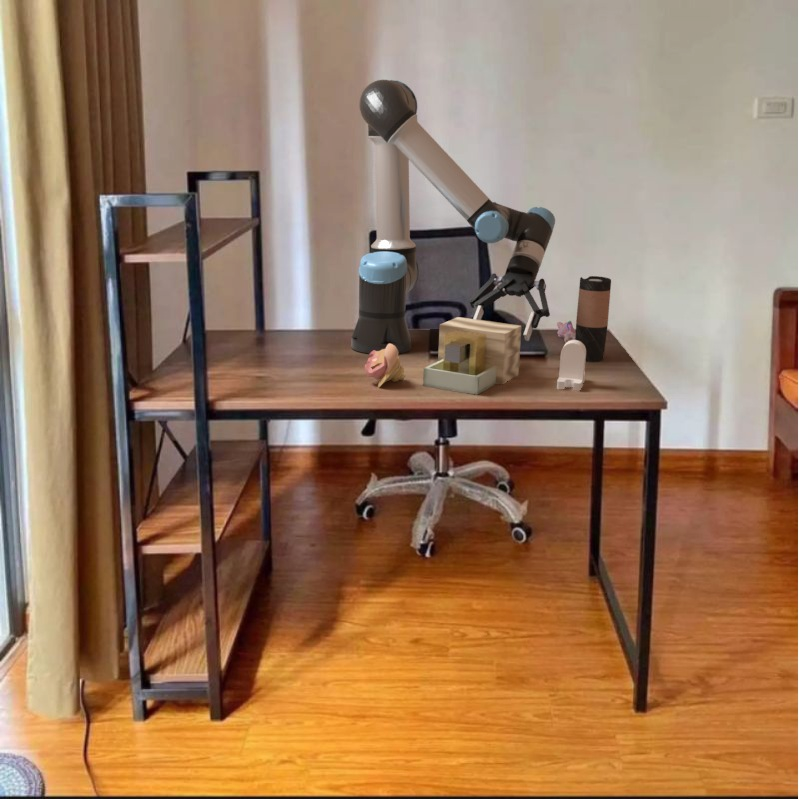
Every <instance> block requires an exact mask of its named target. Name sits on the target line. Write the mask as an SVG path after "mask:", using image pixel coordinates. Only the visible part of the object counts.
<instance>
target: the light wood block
mask: <svg viewBox="0 0 799 799" xmlns="http://www.w3.org/2000/svg"><path fill="white" fill-rule="evenodd" d="M453 330H457V331H464V332H471V333H478V334H485V335H486V342H485V360H484V371H486V370H487V369H489V368H491V367H493V366H496V367H497V373H496V384H495V385H499V384H501V385H502V384H503V385H505V384H506V383H508V382H509V381H511V380H513V379H515V378H516V377H518V376H519V372H520V357H521V341H522V325H519V324H512V323H511V324H510V323H505V322H504V323H503V322H497V321H491V320H483V319H481V320H476V319H472V318H467V317H459V316H456V317H454V318H452V319H450V320H448V321H445V322H443V323H440V324H439V330H438V355H437V356H438V357H437V362H438V361H440V360H442V359H444V340H445V334H446V333H449V332H451V331H453ZM457 373H463V374H469V359H467V360H465V361H463V362H461V363H459V369H458V372H457ZM507 381H508V382H507Z"/></svg>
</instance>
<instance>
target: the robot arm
mask: <svg viewBox="0 0 799 799" xmlns="http://www.w3.org/2000/svg"><path fill="white" fill-rule="evenodd" d="M359 110H360V115H361V117H362V119H363V120H364V122H365V123H366V124H367V132H368V139H369V140H371V142H372V143H373V145H374V170H375V171H374V174H375V175H374V176H375V177H374V178H375V180H374V181H375V217H376V218H375V220H376V239H375V241H374V242H373V243H372V244H371V245H370V253H367V254H365V255H363V256H362V257H361V258H360V261H359V267H358V276H359V277H358V278H359V279H358V281H359V282H358V283H359V284H358V286H359V287H358V291H359V292H358V318H357V321H356V324H355V327H354V330H353V333H352V336H351V340H350V341H351V343H350V348H351V349H353V350H354V351H356V352H359V353H363V354H368V355H369V354H370V353H371V352H372V351H373V350H375V351H380V350H382V349H386V346H387V345H388V344H389V343H390V344H393V345H394V346H395V347H396V348H397V350H398V352H399V354H403V353H407V352H409V351H410V350H411V349H412V339H411V335H410V332H409V327H408V324H407V320H406V298H407V297H406V296H407V294H408V293H409V292H411V291H412V290H413V289H414V288H415V286H416V285H417V283H418V280H419V276H420V266H419V263H418V259H417V251H416V250H417V245H416V244H415V242H414V241H413V240H412V239H411V237H410V236H411V230H410V228H411V226H410V220H411V218H410V163H411V164H413V166H414V167H415V168H416V169H417V170H418V171H419V172H420V173H421V174H422V175H423V177H425V178H426V179H427V181H429V183H430V184H432V186H433V187H434V188H435V189H436V190H437V191H438V192H439V193H440V195H442V196H443V197H444V199H446V200H447V202H448V203H450V205H452V207H453V208H454V209H455V210H456V211H457V212H458V213H459V214H460V215H461V217H462V218H464V220H465V221H466V222H467V223H468V224H469V225H470V226H471V227H472V229H474V232H475V234H476V236H477V238H478V239H479V240H480V241H482V242H483V243H487V244H495V243H498V242H500V241H503V239H507V240H510V241H513V242H516V243H515V245H514V248H513V251H512V254H511V255H510V256H511V257H510V259H509V262H508V265H507V267H506V270H505V273H504V275H503V276H498V275H497V274H496V273H492V274H491V275H490V277H489V279H488V280H487V281H486V283H485V284H483V285H481V286H482V287H480V288H479V289H478V290H477V291H476V292H475V293H474V294H473V295H472V296H470V298H469V299H468V302H469V305H470V307H471V308H472V312H471V319H476V320H482V318H483V315H484V313H485V312H484V309H485V308H487V307H488V306H490V305H491V304H493V303H494V302H496V301H497V300H499V299H500V298H504V297H506V296H511V297H513V296H516V297H519V298H520V297H522V296H524V297H525V299H526V300H527V302H528V304H529V305H530V308H532V311H531V312H530V315H529V317H528V321H527V323H526V325H525V329H524V331H523V334H522V335H523V337H524V340H525V342H529V341H530V338H531V336H532V333H533V329H537V328H538V326H539V324H540V321H541V318H542V317H546V318H549V317H550V316H551V313H550V309H549V305H548V301H547V296H546V289H547V284H546V282H545V279H544V278H540V279H539V280H536V279H537V276H538V273H539V271H540V267H541V265H542V263H543V262H542V261H543V259H544V257H545V253H546V250H547V248H548V247H549V246H548V245H549V244H550V240H551V238H552V234H553V232H554V228H555V224H556V218H555V215H554V213H552V211H550V210H549V209H548V208H545V207H542V206H539V207H537V206H534V207H531V208H530V209H529V210H528V212H526V211H525V212H524V211H520V210H518V209H514V208H511V207H508V206H505V205H503V204H500V203H497V202H496V201H493V200H491V198H489V197H488V196H487V194H486V193H485V192H483V190H482V189H481V188H480V187H479V186H478V185H477V184H476V182H474V180H472V178H471V177H470V176H469V175H468V174H467V173H466V172H465V171H464V170H463V168H461V167H460V165H458V163H457V162H456V161H455V160H454V159H453V158H452V157H451V156H450V155H449V154H448V153H447V152H446V151H445V150H444V148H442V147H441V145H440V144H439V143H438V142H437V141H436V140H435V139H434V138H433V137H432V136H431V135H430V133H429V132H427V130H426V129H425V128H424V127H423V126H422V125H421V124H420V123H419V122H418V114H417V112H418V100H417V97H416V95H415V93H414V91H413V90H412V89H411V88H410V86H408V85H407V84H405V83H404V82H402V81H399V80H393V79H378V80H374V81H373V82H371V83H369V84H368V85H367V86H366V87H365V88H364V89H363V91H362V93H361V94H360V99H359ZM534 288H536V290H537V291H538V294H539V299H540V302H541V307H542V308H540V307H539V305H538V304H537V301H536V300H535V298H534V297H533V295H532V293H531V290H533V289H534Z"/></svg>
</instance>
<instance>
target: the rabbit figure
mask: <svg viewBox="0 0 799 799" xmlns="http://www.w3.org/2000/svg"><path fill="white" fill-rule="evenodd" d="M556 326H557V328H558V330H557V337H558V338H559V337H561V338H563V340H564V344H566V343H567V342H568V341H571V340H575V336H576V329H575V328H574V326H573V323H572V321H571V320H569V321H566V322H564V323H563V322H561V321H558V322H557V323H556Z"/></svg>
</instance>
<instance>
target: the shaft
mask: <svg viewBox="0 0 799 799" xmlns="http://www.w3.org/2000/svg"><path fill="white" fill-rule="evenodd" d="M469 358H470V344H465V343H458V342H451V343H449V344H447V345H445V361H448V362H455V363H461V362H463V361H465V360H467V359H469Z"/></svg>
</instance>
